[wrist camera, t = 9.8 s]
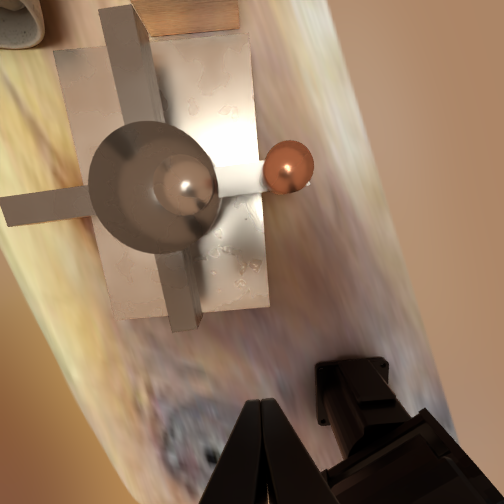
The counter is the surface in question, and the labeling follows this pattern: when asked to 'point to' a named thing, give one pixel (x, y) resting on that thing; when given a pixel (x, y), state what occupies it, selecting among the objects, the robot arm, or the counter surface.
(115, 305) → the stand
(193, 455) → the counter surface
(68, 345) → the counter surface
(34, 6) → the ceramic mug
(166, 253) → the capstan
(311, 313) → the counter surface
